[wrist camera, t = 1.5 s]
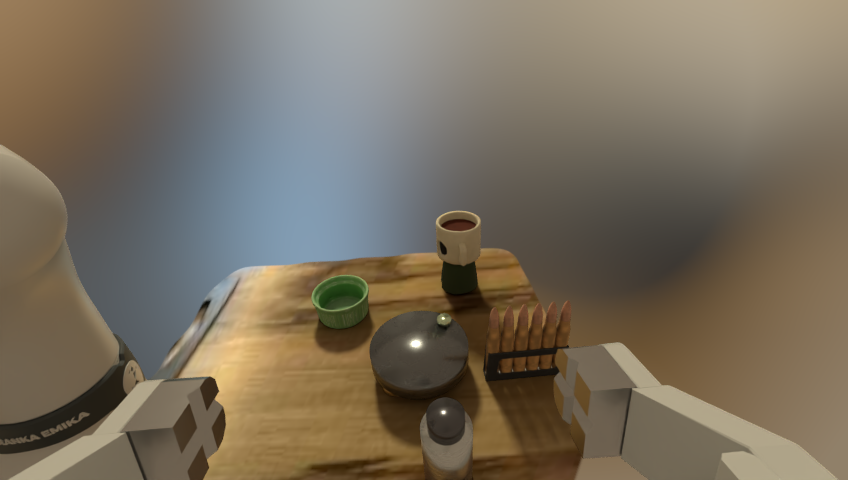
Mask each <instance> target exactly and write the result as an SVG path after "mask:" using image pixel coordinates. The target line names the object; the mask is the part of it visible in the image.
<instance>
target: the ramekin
mask: <svg viewBox="0 0 848 480" xmlns="http://www.w3.org/2000/svg"><path fill="white" fill-rule="evenodd" d="M368 292H369V289H368V285H367V283H366V282H365V281H364V280H363V279H361V278H359V277H357V276H352V275H340V276H335V277H332V278H329V279H327V280H325V281H323V282H322V283H320V284H319V285H318V286H317V287H316V288H315V289H314V291H313V293H312V302H313V305H314V306H315V308H316V310H317V313H318V316H319V318H320V320H321V322H322V323H323V324H324V325H326V326H328V327H330V328H335V329H342V328H348V327H351V326H354V325H356V324H357V323H359V322H360V321H362V320H363V319H364V317H365V316H366V314H367V312H368Z"/></svg>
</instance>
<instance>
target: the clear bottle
mask: <svg viewBox="0 0 848 480" xmlns="http://www.w3.org/2000/svg"><path fill="white" fill-rule="evenodd" d="M420 435H421V445H422V454H423V463H424V472H425V480H472V450H473V426H472V422H471V419H470V417H469V416H468V414H467V413H466V412H465V411H464V408H463V406H462V405H461V404H460V403H459V402H458V401H456V400H455V399H452V398H439V399H437V400H435V401H433V402H432V403H431V404H430V405H429V406H428V408H427V411H426V413H425V415H424V416H423V418H422V420H421V423H420Z"/></svg>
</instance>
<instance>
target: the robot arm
mask: <svg viewBox="0 0 848 480" xmlns="http://www.w3.org/2000/svg"><path fill="white" fill-rule="evenodd" d="M66 229H67V211H66V207H65V203H64V201H63V198H62V196H61V194H60V192H59V191H58V189H57V188H56V187H55V185H54V184H53V183H52V182H51V181H50V179H49V178H47V177H46V176H45V175H44V174H43V173H42V172H40V171H39V170H38V169H37V168H36V167H34V166H33V165H32V164H30V163H29V162H28V161H26V160H25V159H23V158H22V157H20V156H19V155H17V154H15V153H14V152H12V151H11V150H9V149H7V148H6V147H4V146H2V145H0V480H203V478H204V476H205V474H206V473H207V471H208V469H209V466H208V462H207V458H209V457H210V456H211V455H212V454H214V453H215V452H216V451H217V450H218V448H219V446H220V444H221V442H222V440H223V436H224V431H225V426H226V423H225V413H224V409H223V406H222V405H220V404H219V403H218V402H217V401H216V400H214V399H215V397H216V395H217V393H218V392H219V390H218V387H217V384H216V381H215V379H213V378H212V377H195V378H178V379H167V380H164V379H163V380H150V381H147V380H146V378H145V377H144V374H143V372H142V370H141V368H140V366H139V364H138V362H137V360H136V359H135V357H134V356H133V354H132V353H131V351H130V350H129V348H128V347H127V346H126V344H125V343H124V342H123V340H122V339H121V338H120V337H119V336H118V335H116V334H113V333H112V332H111V331H110V329H109V327H108V326H107V324H106V323H105V321H104V320H103V318H102V317H101V315H100V313H99V312H98V310H97V309H96V307H95V306H94V304H93V303H92V301H91V300H90V298H89V297H88V295H87V293H86V291H85V290H84V288H83V286H82V285H81V282H80V280H79V278H78V276H77V273H76V270H75V267H74V265H73V262H72V258H71V255H70V252H69V249H68V246H67V243H66V240H65V234H66ZM555 364H556V366H557V367H558V369H559V371H560V372H559V373H558V374H557V375H556V377H555V378H554V386H553V391H554V398H555V403H556V406H557V409H558V412H559V414H560V416H561V418H562V419H563V420H564V421H566V422H567V423H569V424H570V425H571V430H570V435H571V437H572V439H573V441H574V443H575V444H576V446H577V448H578V450H579V452H580V454H581V456H582V458H597V457H613V456H621V458H622V459H623V460H624V461H626V462H627V463H628V464H629V465H631V466H632V467H633V468H634V469H636V470H637V471H639V472H640V473H641V474H642V475H643V476H644V477H646V478H647V479H648V480H838V479H837V478H836V477H835V476H834V475H832V474H831V473H830V472H829V471H828V470H827V469H825V468H824V467H823V466H822V465H821V464H819V462H817V461H816V460H815V459H814V458H813V457H812V456H810V455H809V454H808V453H807V452H806V451H805V450H803V449H802V448H801V447H800V446H799V445H797V444H795V443H793V442H791V441H789V440H787V439H785V438H783V437H780V436H778V435H776V434H774V433H772V432H769V431H767V430H765V429H763V428H760V427H759V426H756V425H754V424H752V423H750V422H748V421H745V420H743V419H741V418H739V417H737V416H735V415H732V414H730V413H728V412H726V411H724V410H722V409H719V408H717V407H715V406H713V405H711V404H708V403H706V402H704V401H702V400H700V399H698V398H695V397H693V396H691V395H689V394H686V393H685V392H682V391H680V390H678V389H676V388H674V387H671V386H669V385H668V386H662V385H661V384H660V383H659V382H658V381H657V380H656V379H655V378H654V376H653V375H652V374H651V373H650V372H649V371H648V370H647V369H646V368H645V367H644V366H643V365H642V364H641V363H640V361H639V360H638V359H637V358H636V357H635V356H634V355H633V354H632V353H631V352H630V351H629V350H628V349H627V348H626V347H625V346H624V345H623V344H621V343H619V342H618V343H609V344H600V345H596V346H585V347H574V348H562V349H558V350H557V353H556V358H555Z"/></svg>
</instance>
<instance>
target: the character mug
mask: <svg viewBox="0 0 848 480" xmlns="http://www.w3.org/2000/svg"><path fill="white" fill-rule="evenodd" d="M436 234H437V253H438V256H439V258H440V259H441V260H443V268H442V277H441V282H442V288H443V289H444V290H445V291H446V292H448V293H451V294H463V293H467V292H470V291H472V290H474V289H475V288H476V286H477V284H478V282H477V273H476V266H475V261H476V260H477V259H478V257H479V256H480V240H481V219H480V218H479V217H478V216H477V215H475V214H473V213H470V212H465V211H453V212H448V213H445V214H443V215H441V216H440V217H439V218H437V221H436Z"/></svg>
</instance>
